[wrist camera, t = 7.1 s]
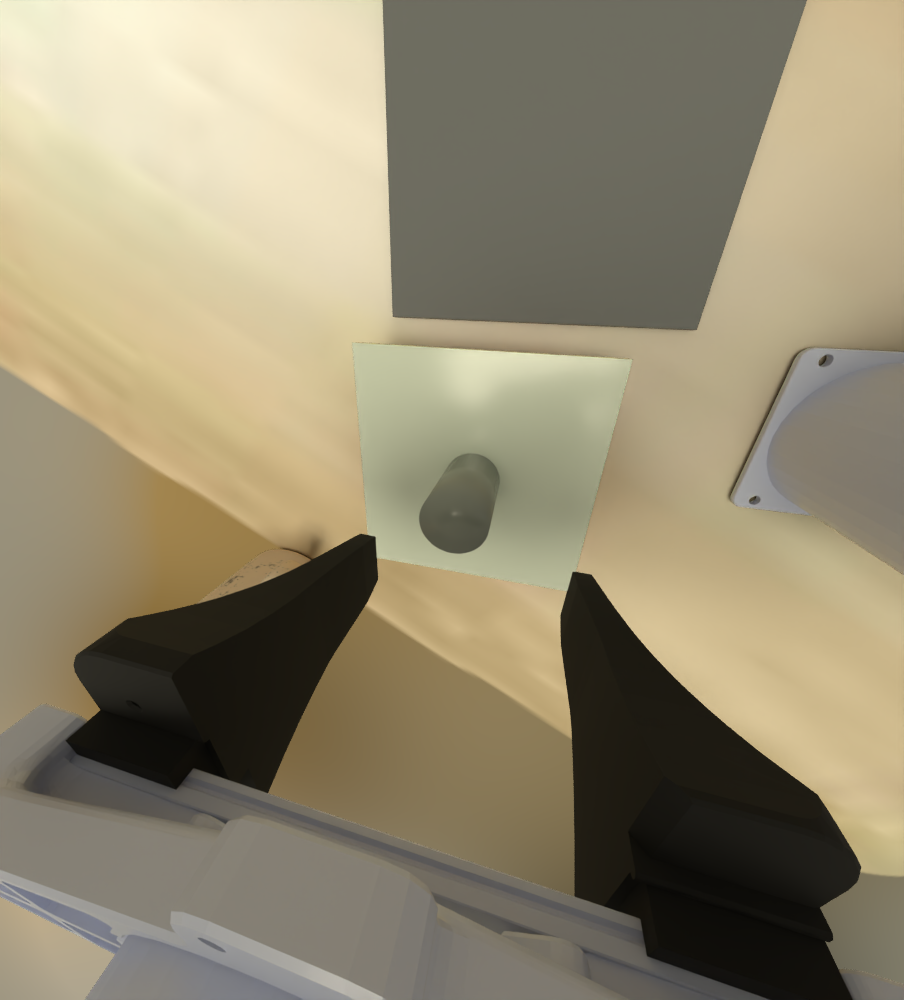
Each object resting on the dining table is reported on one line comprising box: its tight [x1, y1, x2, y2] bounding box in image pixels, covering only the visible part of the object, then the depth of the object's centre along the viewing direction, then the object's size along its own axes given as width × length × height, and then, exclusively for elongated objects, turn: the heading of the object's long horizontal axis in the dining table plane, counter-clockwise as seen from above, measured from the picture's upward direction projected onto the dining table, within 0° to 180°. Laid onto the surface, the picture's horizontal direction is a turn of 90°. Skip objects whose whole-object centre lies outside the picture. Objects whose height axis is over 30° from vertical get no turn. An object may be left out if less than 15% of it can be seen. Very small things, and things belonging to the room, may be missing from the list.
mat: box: [383, 0, 807, 330], centre depth 14 cm, size 15×15×1 cm
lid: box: [352, 342, 633, 591], centre depth 15 cm, size 12×12×5 cm
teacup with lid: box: [197, 549, 311, 604], centre depth 24 cm, size 12×9×12 cm
